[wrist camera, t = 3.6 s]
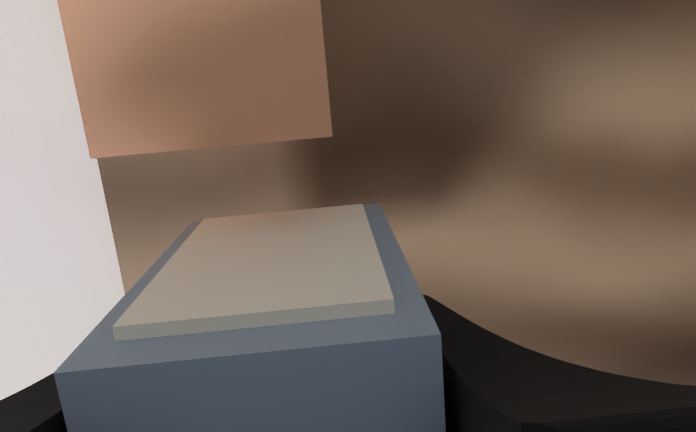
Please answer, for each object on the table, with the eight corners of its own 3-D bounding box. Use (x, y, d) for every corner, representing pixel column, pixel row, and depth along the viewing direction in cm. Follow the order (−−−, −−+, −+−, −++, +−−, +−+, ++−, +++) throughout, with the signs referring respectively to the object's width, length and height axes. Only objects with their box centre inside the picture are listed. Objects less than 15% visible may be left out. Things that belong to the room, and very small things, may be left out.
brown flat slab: (755, 363, 21) (824, 409, 19) (163, 425, 21) (138, 483, 18) (822, -164, 17) (927, -213, 14) (57, -106, 16) (-1, -143, 13)
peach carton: (327, 109, 17) (332, 136, 10) (181, 122, 17) (90, 158, 10) (311, -56, 16) (306, -149, 9) (154, -44, 16) (29, -128, 9)
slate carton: (391, 371, 14) (456, 634, 8) (219, 389, 14) (125, 672, 7) (379, 195, 13) (440, 318, 6) (191, 213, 13) (49, 357, 6)
